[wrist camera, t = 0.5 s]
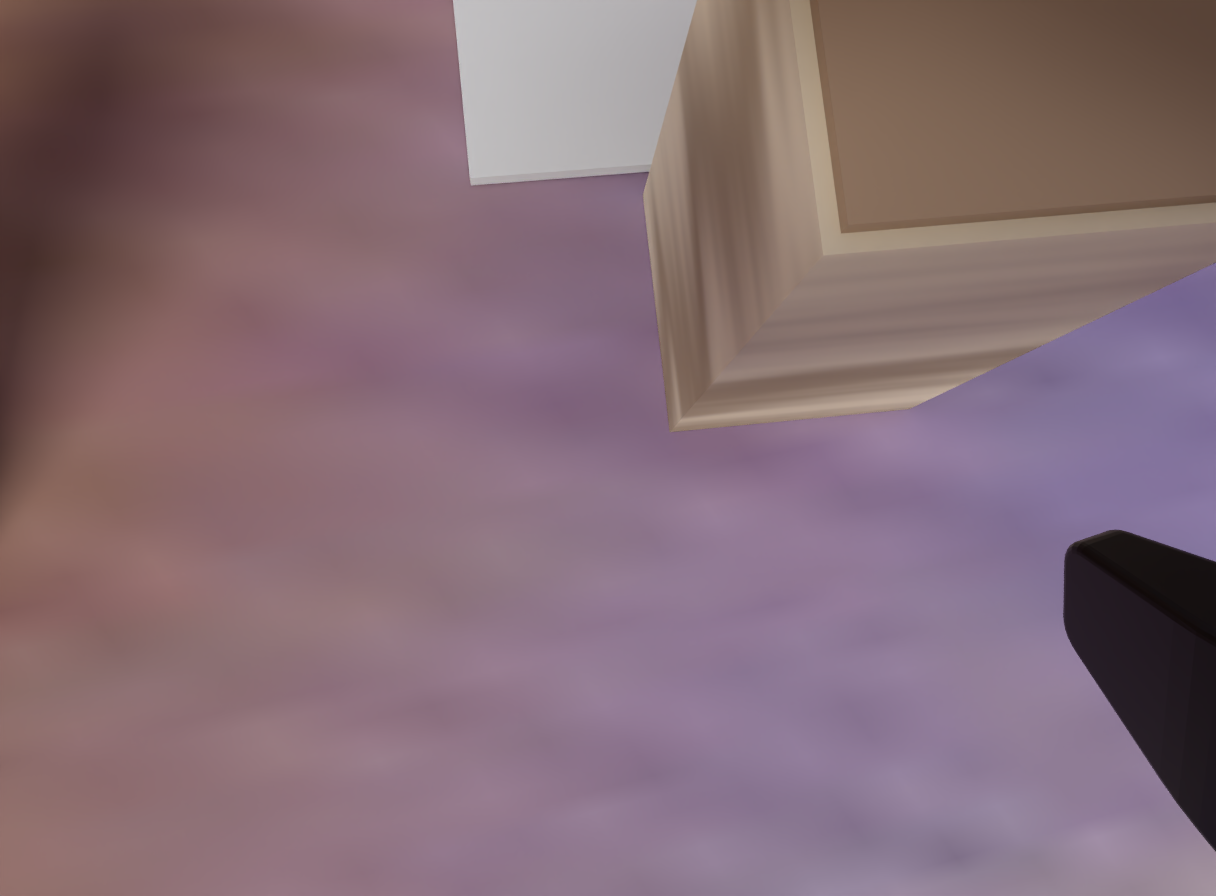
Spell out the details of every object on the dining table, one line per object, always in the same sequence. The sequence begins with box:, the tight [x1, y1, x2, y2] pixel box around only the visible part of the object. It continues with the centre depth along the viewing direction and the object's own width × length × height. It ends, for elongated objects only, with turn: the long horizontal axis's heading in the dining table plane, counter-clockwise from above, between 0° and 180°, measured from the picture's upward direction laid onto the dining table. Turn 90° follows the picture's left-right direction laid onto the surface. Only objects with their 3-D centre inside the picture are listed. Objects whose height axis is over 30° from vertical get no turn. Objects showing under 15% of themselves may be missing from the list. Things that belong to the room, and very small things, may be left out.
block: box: [643, 0, 1216, 432], centre depth 17 cm, size 5×5×12 cm
